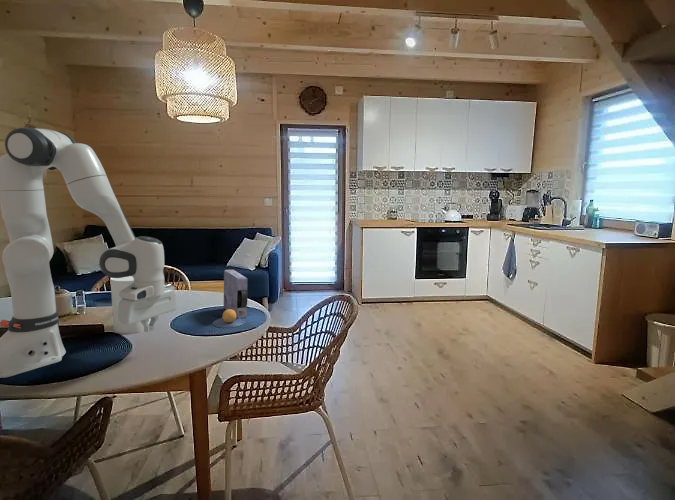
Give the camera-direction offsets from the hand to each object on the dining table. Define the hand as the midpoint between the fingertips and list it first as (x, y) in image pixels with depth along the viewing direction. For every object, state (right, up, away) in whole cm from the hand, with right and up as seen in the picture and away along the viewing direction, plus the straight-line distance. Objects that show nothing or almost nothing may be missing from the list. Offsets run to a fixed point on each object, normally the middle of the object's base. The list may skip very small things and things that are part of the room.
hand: (149, 330), depth 136 cm
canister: (-19, -5, +29) cm, 35 cm away
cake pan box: (+16, -2, +49) cm, 52 cm away
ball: (+16, -1, +36) cm, 40 cm away
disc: (+16, -4, +37) cm, 40 cm away
